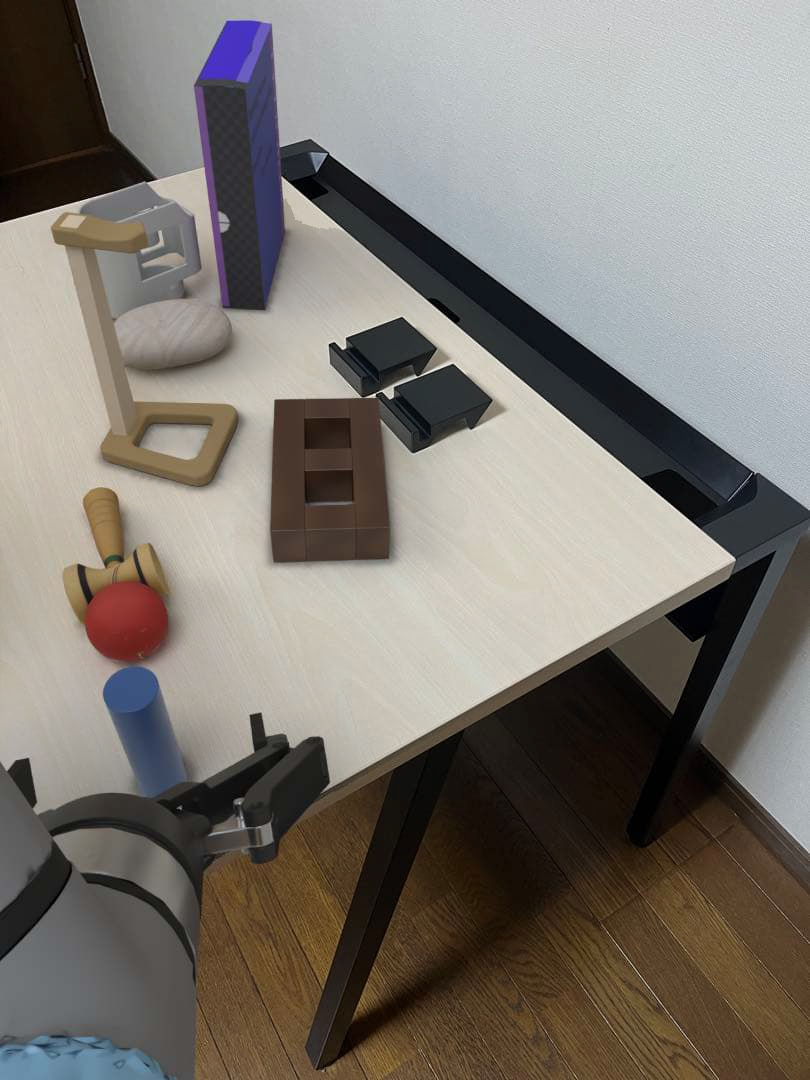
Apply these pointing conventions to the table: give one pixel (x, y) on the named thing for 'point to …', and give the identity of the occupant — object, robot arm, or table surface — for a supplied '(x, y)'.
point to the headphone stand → (123, 412)
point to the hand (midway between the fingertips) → (145, 757)
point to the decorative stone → (171, 333)
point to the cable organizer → (124, 270)
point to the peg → (144, 729)
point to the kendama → (118, 587)
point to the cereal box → (242, 161)
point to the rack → (328, 481)
